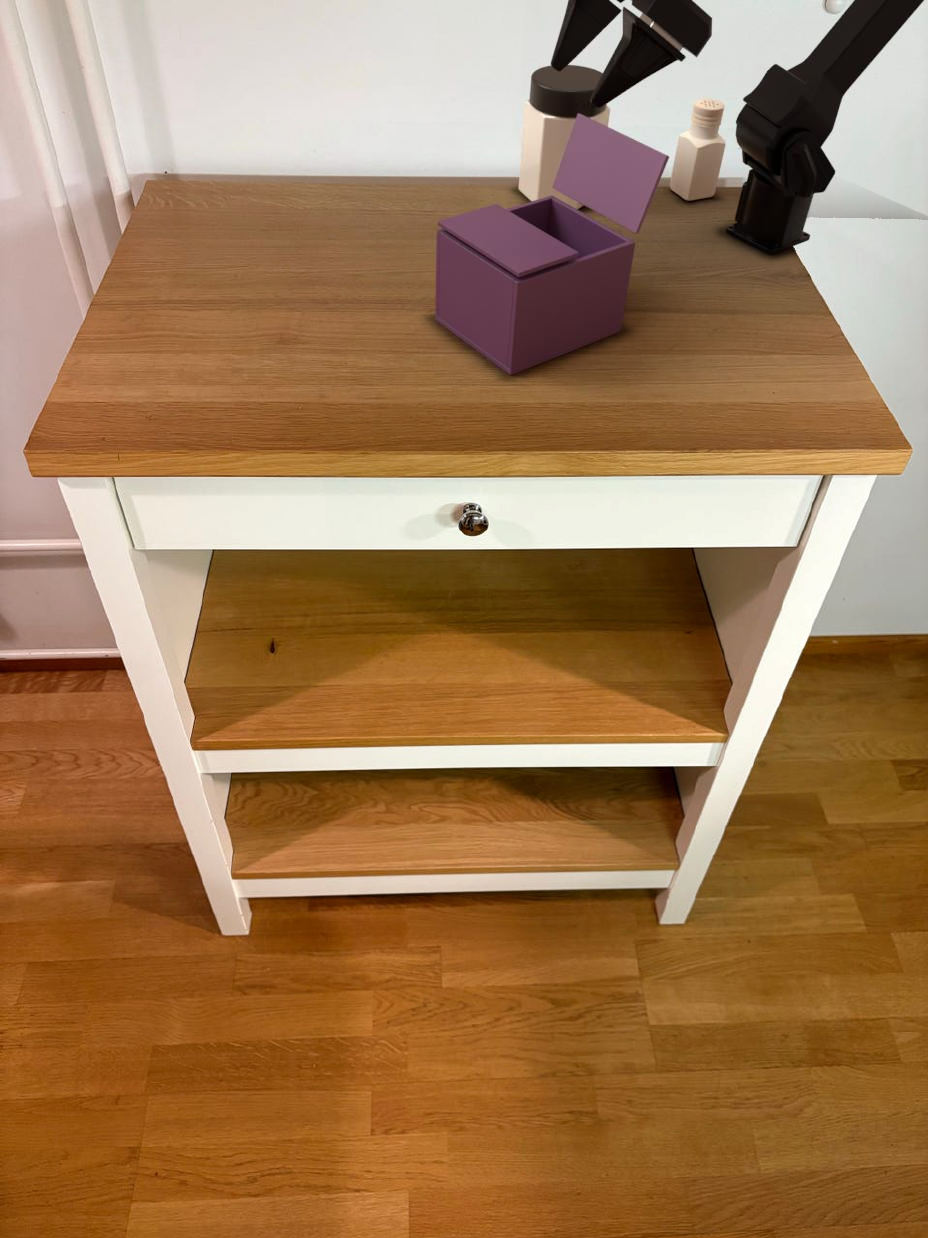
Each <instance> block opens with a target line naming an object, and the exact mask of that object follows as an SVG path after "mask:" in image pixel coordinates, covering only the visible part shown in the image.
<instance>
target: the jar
mask: <svg viewBox="0 0 928 1238" xmlns="http://www.w3.org/2000/svg"><path fill="white" fill-rule="evenodd" d="M602 74H603V71H599V70H598V69H595V68H592V67H589V66H588V67H587V66H583V65H576V64H575V65H574V64H568V65H567V66H566V67H565V68H564V69H563V70H562V71H560V72H559V71H557V70H555V69H554V68H553V67H552V66H551V65H547V66H543V67H540V68H537V69H536V70H534V71H533V72H532V74H531V76H530V88H529V99H527V100H526V101H525V102H524V112H523V125H522V135H521V137H522V138H521V151H520V163H519V177H518V191H519V192H520V193H521V194H522V195H523V196H525V197H526V199H528V200H529V202H532V201H535V200H538V199H541V198H545V197H548V196H551V195H552V196H554V197H556V198H557V199H559V200H561V201H563V202H565V203H566V204H568V205H570V206H572V207H574V208H575V209H577V210H579V209H581V208H583V207H584V206H585V205H583V204H581V203H579V202H577V201H576V200H574V199H572V198H570V197H568V196H566V195H565V194H563V193H561V192H559V191H557V190H556V189H554V188H552V186H553V183H554V180H555V178H556V175H557V172H558V169H559V166H560V163H561V160H562V157H563V154H564V152H565V149H566V146H567V143H568V140H569V137H570V134H571V131H572V128H573V126H574V123H575V120H576V117H577V114H578V113H579V114H582V115H584V116H586V117H588V118H590V119H592V120H595V121H597V122H599V123H601V124H603V125H605V126H607V127H609V122H610V115H611V108H610V107H609V106H608V105H607V104H608V103H607V104H605V105H604V106H602V107H601V108H598V107H596V106H595V105H593V104H592V103H591V102H590V99H591V96H592V94H593V92H594V90H595V88H596V85H597V83H598V81H599V79H600V78H601V76H602Z"/></svg>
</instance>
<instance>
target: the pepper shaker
mask: <svg viewBox="0 0 928 1238" xmlns="http://www.w3.org/2000/svg"><path fill="white" fill-rule="evenodd" d="M692 107H693V108H692V113H691V117H690V126H689V127H690V128H689V130H686V131H683V132H682V133H680V135H678V138H677V144H676V149H675V155H674V160H673V165H672V171H671V176H670V181H669V188H670V190H671V191H672V192H674V193H675V194H676V195H678V196H679V197H681V198H682V199H683V200H684V201H695V200H700V199H706V198H712V197H713V196H714V195H715V193H716V191H717V190H716V189H717V185H718V181H719V177H720V172H721V167H722V163H723V159H724V154H725V149H726V144H727V143H726V140H725V139H724V138H723V136H722V135H720V134H719V130H720V126H721V125H722V120H723V115H724V110H725V107H726V105H725V104H724V103H723V102H722V101H720V100H717V99H712V98H700V99H696V100H695V101H694V103H693V106H692Z"/></svg>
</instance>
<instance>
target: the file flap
mask: <svg viewBox="0 0 928 1238" xmlns="http://www.w3.org/2000/svg"><path fill="white" fill-rule="evenodd" d="M669 159H670V155H668V154H665V153H663V152H661V151H659V150H657V149H655V148H653V147H651V146H649V145H646V144H645V143H643V142H641V141H638V140H636V139H634V138H632V137H630V136H628V135H627V134H624V133H621V132H620V131H617V130H615V129H613V128H611V127H609V126H608V127H607V126H605V125H603V124H601V123H599V122H597V121H595V120H592V119H590V118H588V117H586V116H584V115H582V114H579V113H578V114H577V117H576V120H575V123H574V126H573V128H572V131H571V134H570V137H569V140H568V143H567V146H566V149H565V152H564V154H563V157H562V160H561V163H560V166H559V169H558V172H557V175H556V178H555V180H554V183H553V186H552V188H554V189H556V190H557V191H559V192H561V193H563V194H565V195H566V196H568V197H570V198H572V199H574V200H576V201H577V202H579V203H581V204H583V205H584V206H585V207H586V208H588V209H590V210H592V211H594V212H595V213H597V214H599V215H601V216H603V217H605V218H606V219H608V220H610V221H612V222H613V223H616V224H617V225H619V226H621V227H622V228H624V229H626V230H628V231H630V232H631V233H634V234H635V235H639V234H640V231H641V230H642V226H643V223H644V221H645V219H646V216H647V213H648V211H649V209H650V207H651V204H652V201H653V199H654V196H655V194H656V192H657V189H658V187H659V184H660V182H661V179H662V176H663V174H664V172H665V169H666V166H667V164H668V162H669Z"/></svg>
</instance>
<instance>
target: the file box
mask: <svg viewBox="0 0 928 1238" xmlns="http://www.w3.org/2000/svg"><path fill="white" fill-rule="evenodd" d="M437 226H438V227H440V228H439V229H437V230H436V249H435V251H436V255H435V257H436V258H435V259H436V260H435V265H436V266H435V309H434V310H435V311H434V312H435V316H434V320H435V322H437V323H439V325H441V326H443V327H444V328H445V329H446V330H448V331H449V332H451V334H453V335H454V336H456V337H457V338H459V339H460V340H461V341H463V342H464V343H466V344H467V345H468V346H469V347H471V348H472V349H474V351H476V352H478V353H479V354H480V355H482V356H483V357H485V358H486V359H487V360H488V361H490V362H492V363H493V364H494V365H496V366H497V367H498V368H500V369H501V370H502V371H503V372H505V373H506V374H507V375H509V376H513V375H515V374H517V373H520V372H523V371H525V370H527V369H530V368H533V367H536V366H538V365H540V364H542V363H546V362H548V361H550V360H553V359H555V358H558V357H560V356H563V355H566V354H567V353H571V352H574V351H575V350H578V349H580V348H583V347H585V346H589V345H590V344H593V343H595V342H598V341H601V340H603V339H605V338H608V337H610V336H613V335H616V334H618V333H621V331H622V325H623V319H624V313H625V309H626V308H625V307H626V301H627V296H628V289H629V284H630V279H631V271H632V265H633V259H634V254H635V249H636V248H635V247H636V241H634V240H632V239H631V238H629V237H627V236H626V235H624V234H623V233H620V232H618V231H617V230H615V229H613V228H612V227H610V226H607V225H606V224H604V223H603V222H600V221H598V220H597V219H595V218H593V217H591V216H590V215H588V214H586V213H584V212H582V211H581V210H579V209H578V210H577V209H575V208H574V207H572V206H570V205H568V204H566V203H565V202H563V201H561V200H559V199H557V198H556V197H554V196H552V195H551V196H548V197H545V198H541V199H538V200H535V201H532V202H531V201H528V202H526V203H522V204H519V205H515V206H512V207H508V208H505V207H503V206H501V205H500V204H498V203H493V204H490V205H487V206H484V207H480V208H477V209H474V210H470V211H466V212H464V213H459V214H456V215H454V216H450V217H446V218H443V219H439V220H437Z"/></svg>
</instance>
